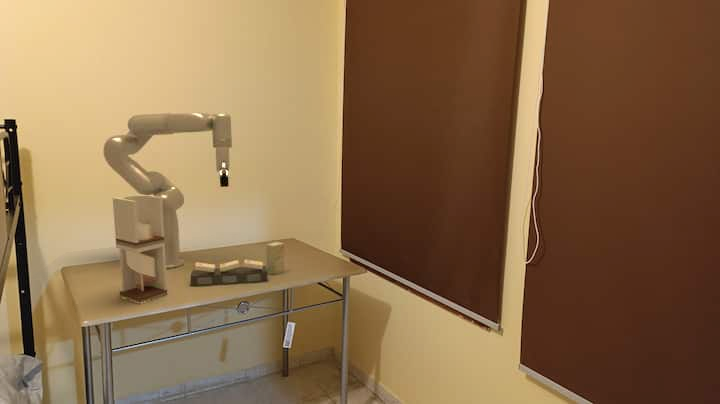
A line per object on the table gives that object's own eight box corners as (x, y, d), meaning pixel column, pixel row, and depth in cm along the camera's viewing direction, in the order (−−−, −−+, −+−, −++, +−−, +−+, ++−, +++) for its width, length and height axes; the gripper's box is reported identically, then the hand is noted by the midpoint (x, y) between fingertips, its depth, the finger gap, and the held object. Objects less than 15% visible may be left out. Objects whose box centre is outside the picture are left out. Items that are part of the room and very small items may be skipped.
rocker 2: (244, 266, 182) (244, 262, 182) (243, 263, 187) (244, 259, 186) (262, 269, 184) (263, 265, 184) (261, 266, 188) (262, 261, 188)
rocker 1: (194, 269, 178) (195, 265, 178) (195, 266, 182) (196, 261, 182) (213, 272, 180) (214, 267, 180) (214, 268, 184) (215, 264, 184)
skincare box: (274, 275, 191) (274, 246, 189) (266, 273, 194) (265, 244, 192) (284, 271, 197) (284, 242, 195) (276, 269, 199) (276, 241, 197)
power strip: (190, 286, 177) (190, 275, 176) (192, 279, 185) (192, 269, 184) (267, 281, 183) (267, 271, 183) (266, 275, 191) (266, 264, 191)
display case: (119, 297, 165) (112, 198, 159) (147, 288, 174) (141, 194, 168) (139, 304, 159) (133, 201, 154) (167, 294, 168) (162, 197, 162)
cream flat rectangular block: (220, 271, 181) (219, 267, 180) (221, 268, 185) (219, 264, 184) (239, 267, 182) (238, 262, 182) (239, 263, 186) (238, 259, 186)
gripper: (212, 143, 203) (214, 183, 206) (212, 145, 187) (215, 188, 189) (231, 143, 205) (232, 182, 208) (232, 144, 189) (234, 187, 191)
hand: (224, 185), depth 199 cm, fingers open, 9 cm apart
